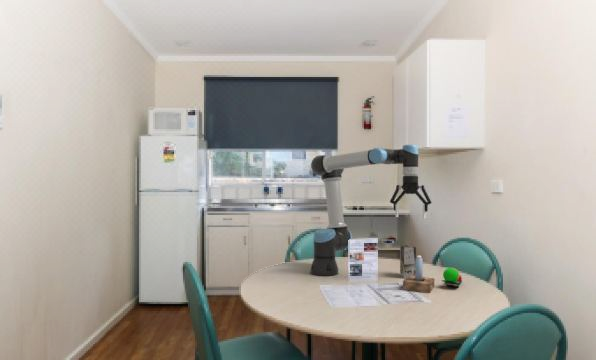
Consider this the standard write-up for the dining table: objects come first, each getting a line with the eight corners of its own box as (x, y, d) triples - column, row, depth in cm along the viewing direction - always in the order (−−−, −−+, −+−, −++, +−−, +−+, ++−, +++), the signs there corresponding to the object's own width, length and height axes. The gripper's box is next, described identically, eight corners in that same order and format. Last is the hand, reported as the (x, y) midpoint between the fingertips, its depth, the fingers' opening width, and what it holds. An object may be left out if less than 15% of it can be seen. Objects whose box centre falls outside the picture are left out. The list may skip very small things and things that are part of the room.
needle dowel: (414, 288, 197) (414, 256, 197) (416, 287, 200) (416, 255, 200) (421, 289, 196) (421, 256, 195) (423, 287, 198) (423, 255, 198)
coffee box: (416, 278, 216) (416, 247, 216) (403, 278, 216) (403, 247, 216) (411, 274, 225) (411, 244, 225) (399, 274, 226) (399, 244, 225)
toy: (445, 289, 208) (439, 279, 197) (447, 274, 211) (441, 263, 200) (463, 292, 203) (458, 282, 192) (465, 276, 207) (460, 265, 196)
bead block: (403, 289, 195) (403, 281, 195) (409, 283, 206) (409, 275, 206) (429, 292, 190) (429, 284, 190) (434, 286, 200) (434, 278, 200)
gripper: (384, 175, 214) (383, 217, 215) (434, 175, 203) (434, 219, 203) (388, 175, 221) (388, 215, 221) (437, 175, 209) (437, 218, 210)
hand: (410, 217), depth 212 cm, fingers open, 13 cm apart
